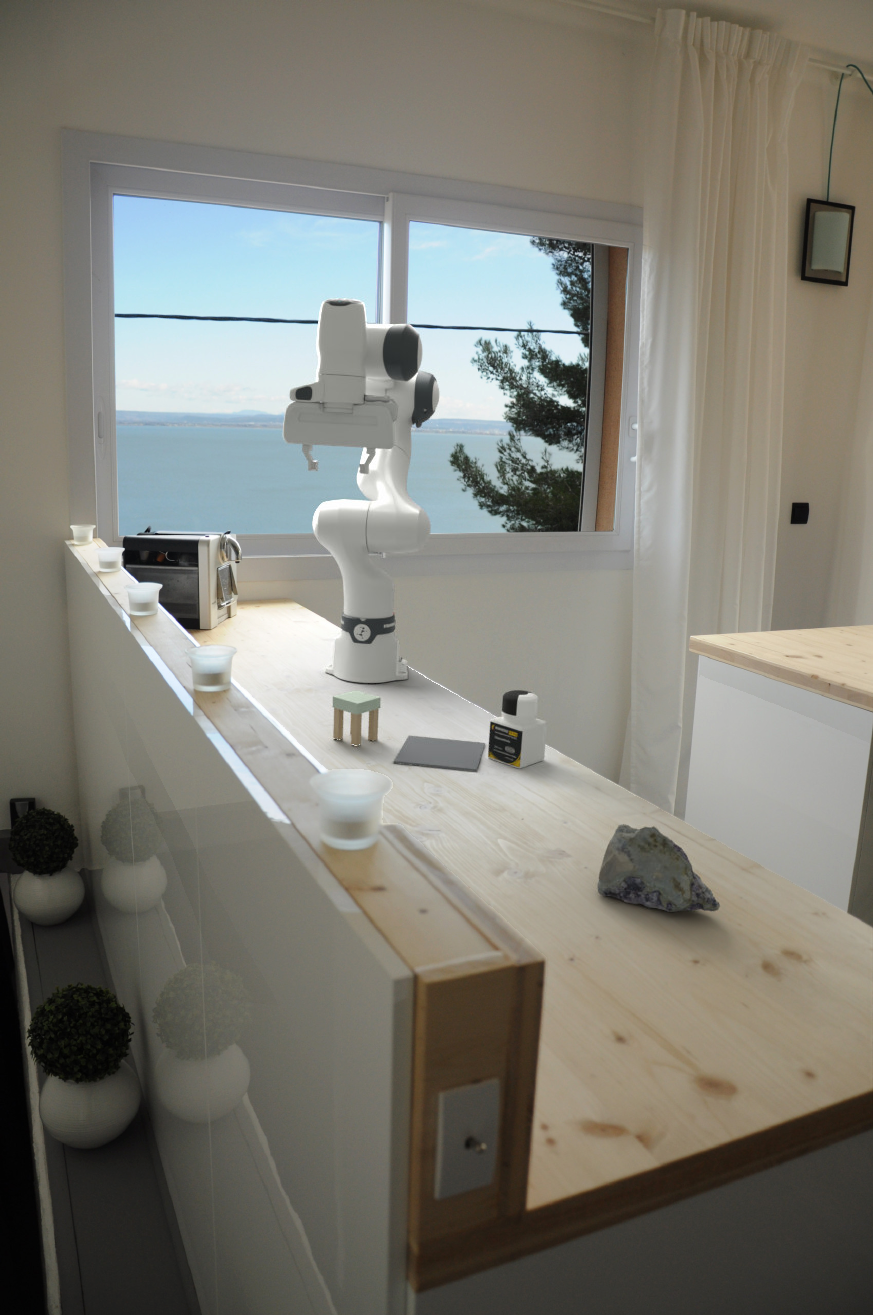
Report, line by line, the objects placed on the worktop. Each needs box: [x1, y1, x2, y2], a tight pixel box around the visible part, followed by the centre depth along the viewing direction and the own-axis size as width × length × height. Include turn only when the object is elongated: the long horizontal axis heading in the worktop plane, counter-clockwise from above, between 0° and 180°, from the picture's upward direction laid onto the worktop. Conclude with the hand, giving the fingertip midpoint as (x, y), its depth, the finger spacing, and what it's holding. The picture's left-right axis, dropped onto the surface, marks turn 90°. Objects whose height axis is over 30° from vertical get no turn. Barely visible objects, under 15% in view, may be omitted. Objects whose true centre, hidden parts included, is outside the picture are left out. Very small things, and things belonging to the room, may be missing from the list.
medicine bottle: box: [487, 689, 548, 769], centre depth 163 cm, size 7×7×12 cm
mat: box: [393, 735, 486, 772], centre depth 165 cm, size 14×14×1 cm
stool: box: [332, 690, 382, 745], centre depth 169 cm, size 6×6×8 cm
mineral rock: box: [597, 823, 721, 913], centre depth 114 cm, size 13×11×10 cm
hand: (338, 472), depth 172 cm, fingers open, 8 cm apart
